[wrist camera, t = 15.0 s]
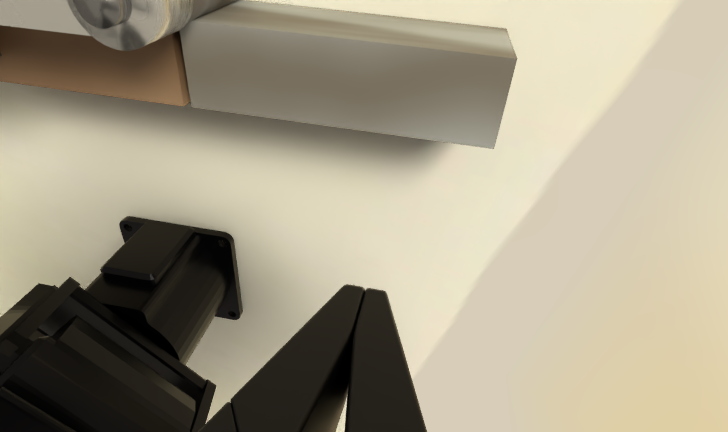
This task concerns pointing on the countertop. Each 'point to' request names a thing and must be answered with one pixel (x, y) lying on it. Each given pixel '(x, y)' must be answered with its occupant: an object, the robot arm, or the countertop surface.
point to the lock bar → (101, 18)
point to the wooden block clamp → (293, 69)
